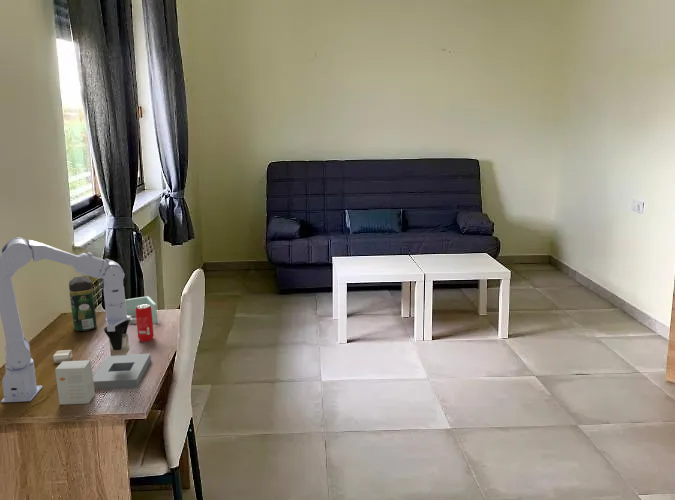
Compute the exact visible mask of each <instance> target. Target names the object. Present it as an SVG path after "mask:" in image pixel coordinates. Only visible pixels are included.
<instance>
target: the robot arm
mask: <svg viewBox="0 0 675 500" xmlns="http://www.w3.org/2000/svg"><path fill="white" fill-rule="evenodd" d="M31 260H33V263H35V262H38V261H42V260H49V261H51V262H52V261H53V262H56V263H60V264H64V265H66V266H71V267H73V269H74V270H75V272H76V273H79V274H82V275H85V276H88V277H92V278H94V279H99V280H100V279H103V280H102V281H103V296H104V298H103V299H104V307H105V309H104V310H105V322H106V326H105V327H104V328H103V331H104V333H105V335H106V336H107V337H108V340H109V339H110V342H111V345H112V347H113V350H121V348H122V336H123V334H128V328H129V325H130V324H129V322H130V319H131V316H128V315H127V313H126V303H125V300H126V296H125V295H126V294H125V286H124V279H125V276H126V275H125V273H124V269H123V268H122V266H121V265H120V264H119V263H118V262H116V261H114V260H113V259H109V258H104V259H103V258H101V257H97V256H95V255H93V253H92V252H90V251H88V252H87V253H85V252H82V253H80V254H74V253H72V252H68V251H65V250H63V249H60V248H57V247H54V246H52V245H48V244H46V243H43V242H39V241H36V240H32V239H28V240H27V239H25V238H23V237H14V238H12V239H10V240H9V241H7V243H5V244H4V245H3V246H2V248H1V250H0V319H1V324H2V328H3V332H4V333H3V334H4V337H5V347H4V348H5V364H4V367H5V374H4V376H3V378H2V381H1V384H2V392H3V398H2V399H1V403H20V402H23V403H24V402H31V401H32V400H33V399H34V398H35V397H36V396H37V395H38V393H39V392H40V391H41V390H42V389H43V385H37V378H36V369H35V363H34V361H35V360H34V359H33V358H32V353H31V350H30V349H31V345H30V342H29V341H28V339H27V338H26V337H25V334H24V330H23V326H22V321H21V317H20V313H19V307H18V302H17V298H16V293H15V289H14V284H13V280H12V277H13V275H15V273H17V271H18V270H19V269H21V268H23V267H24V266H26V265H28V264H29V262H31Z"/></svg>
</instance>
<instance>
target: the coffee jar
mask: <svg viewBox="0 0 675 500" xmlns="http://www.w3.org/2000/svg"><path fill="white" fill-rule="evenodd" d="M68 291H69V299H70V300H69V301H70V307H71V314H72V316H71V317H72V324H73V328H74V330H76V331H78V332H79V331H80V332H85V331H86V332H87V331H90V330H92V329H96V328H97V315H96V308H95V307H96V306H95V299H94V290H93V281H92V279H91V278H89V277H87V276H86V275H85V276H75V277H73V278H72V279H71V280H69V282H68Z"/></svg>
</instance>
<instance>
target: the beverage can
mask: <svg viewBox="0 0 675 500" xmlns="http://www.w3.org/2000/svg"><path fill="white" fill-rule="evenodd" d="M136 321H137V324H136V330H137V338H138V340H139V341H140V342H141V343H147V342H151V341H153V340H154V336H155V334H154V325H153V323H154V322H153V321H152V310H151V307H150V305H149V304H141V305H138V306H136Z"/></svg>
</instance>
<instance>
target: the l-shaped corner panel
mask: <svg viewBox="0 0 675 500" xmlns="http://www.w3.org/2000/svg"><path fill="white" fill-rule="evenodd" d="M125 303H126V313H127V315H128V316H131V319H130V322H129V325H137V321H136V306H138V305H141V304H149V305H150V307H151V310H152V321H153V323H154V324H158V312H157V311H158V310H157V303H156V302H154V300H152V298H151V297H150V296H149V295H147V296H140V297H134V298H133V297H132V298H128V299H125ZM131 323H132V324H131Z"/></svg>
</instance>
